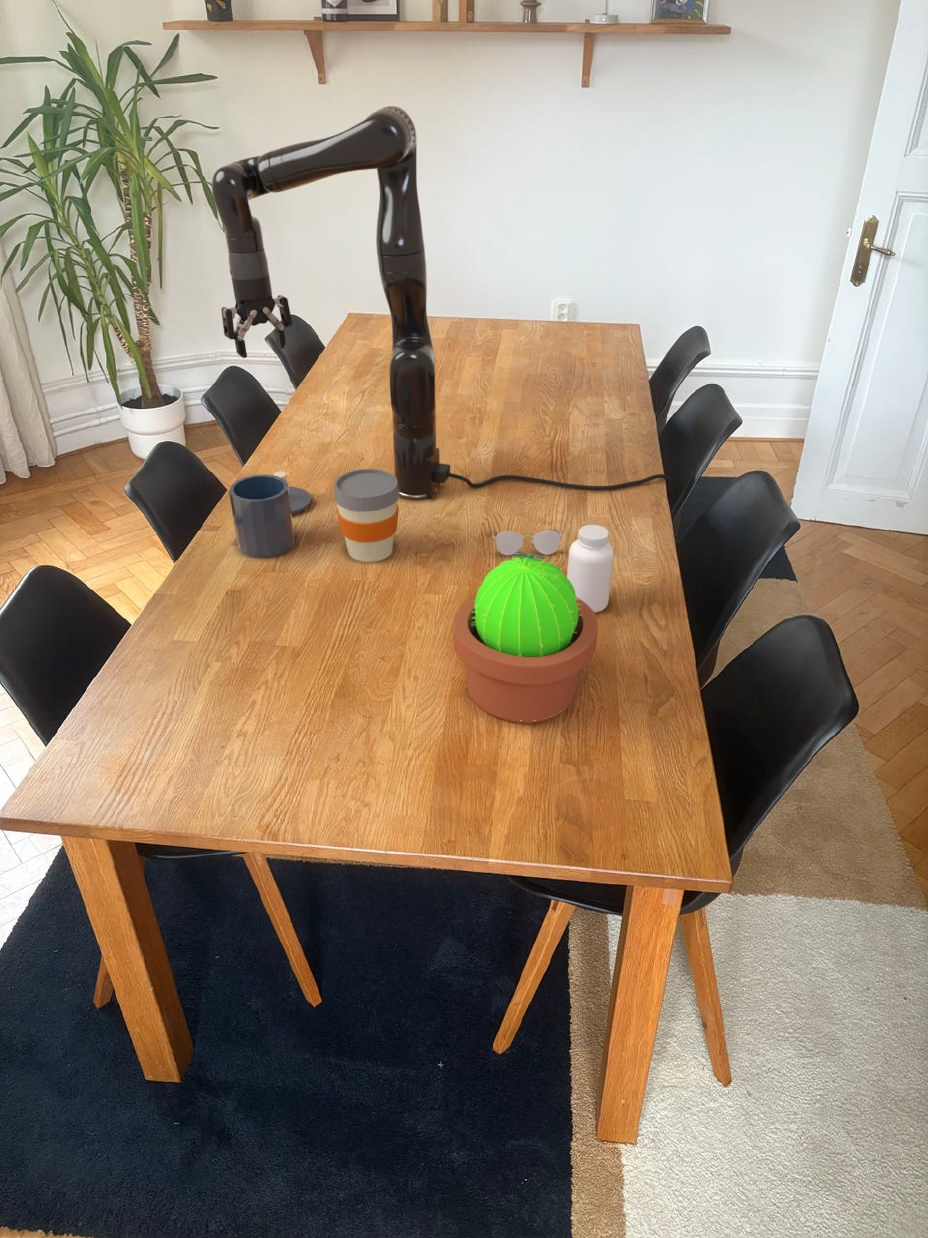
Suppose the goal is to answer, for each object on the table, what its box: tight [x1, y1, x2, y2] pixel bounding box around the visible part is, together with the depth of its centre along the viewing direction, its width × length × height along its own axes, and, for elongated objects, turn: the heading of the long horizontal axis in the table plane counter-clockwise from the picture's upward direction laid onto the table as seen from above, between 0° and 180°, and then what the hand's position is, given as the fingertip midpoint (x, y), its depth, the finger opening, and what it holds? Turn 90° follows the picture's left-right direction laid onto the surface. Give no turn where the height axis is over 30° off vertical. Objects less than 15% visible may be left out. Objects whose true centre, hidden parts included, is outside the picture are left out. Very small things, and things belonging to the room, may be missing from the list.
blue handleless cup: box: [228, 474, 295, 559], centre depth 188 cm, size 11×11×13 cm
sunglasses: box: [491, 527, 564, 556], centre depth 191 cm, size 14×8×5 cm, turn 92°
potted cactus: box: [452, 552, 599, 724], centre depth 147 cm, size 22×22×25 cm
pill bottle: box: [566, 524, 615, 614], centre depth 170 cm, size 8×8×15 cm
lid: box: [272, 471, 312, 515], centre depth 203 cm, size 12×12×7 cm
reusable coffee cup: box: [333, 468, 400, 563], centre depth 185 cm, size 12×13×15 cm
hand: (262, 352), depth 199 cm, fingers open, 8 cm apart
